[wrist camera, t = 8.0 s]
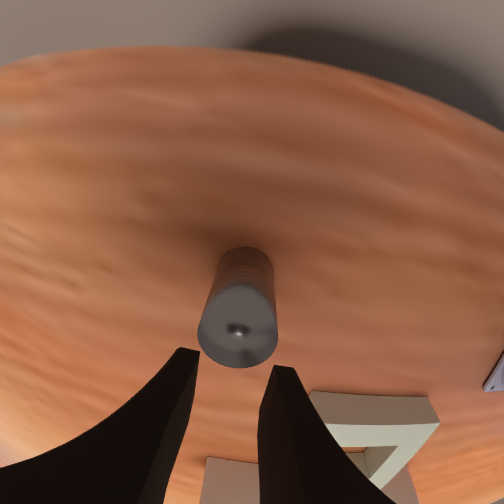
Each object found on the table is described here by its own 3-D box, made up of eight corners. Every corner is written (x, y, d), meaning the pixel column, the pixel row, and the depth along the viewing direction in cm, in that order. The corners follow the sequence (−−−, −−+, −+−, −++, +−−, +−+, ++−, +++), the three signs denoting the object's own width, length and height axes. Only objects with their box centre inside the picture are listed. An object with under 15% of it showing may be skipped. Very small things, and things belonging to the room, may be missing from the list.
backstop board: (406, 464, 24) (421, 509, 18) (397, 474, 25) (410, 517, 19) (207, 456, 23) (198, 512, 18) (205, 466, 24) (196, 520, 18)
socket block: (427, 396, 20) (440, 422, 18) (374, 465, 24) (380, 489, 21) (311, 390, 20) (316, 422, 17) (275, 463, 24) (275, 491, 21)
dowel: (279, 253, 17) (286, 311, 11) (266, 302, 18) (268, 373, 12) (222, 241, 17) (202, 295, 11) (213, 292, 18) (193, 359, 12)
